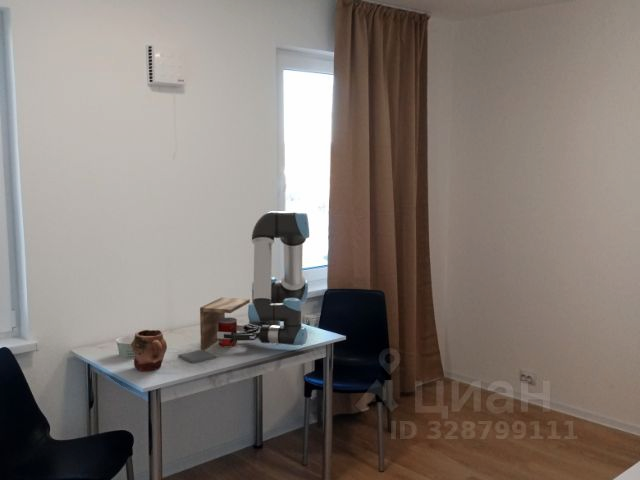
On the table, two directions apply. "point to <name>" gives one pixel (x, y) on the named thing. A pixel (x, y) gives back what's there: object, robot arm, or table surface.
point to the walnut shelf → (216, 318)
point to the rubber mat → (197, 356)
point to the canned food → (227, 330)
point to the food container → (125, 346)
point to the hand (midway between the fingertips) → (223, 330)
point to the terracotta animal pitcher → (148, 349)
